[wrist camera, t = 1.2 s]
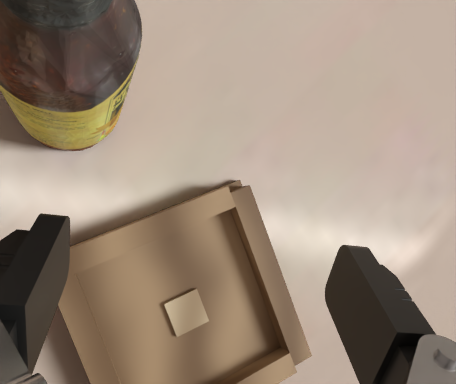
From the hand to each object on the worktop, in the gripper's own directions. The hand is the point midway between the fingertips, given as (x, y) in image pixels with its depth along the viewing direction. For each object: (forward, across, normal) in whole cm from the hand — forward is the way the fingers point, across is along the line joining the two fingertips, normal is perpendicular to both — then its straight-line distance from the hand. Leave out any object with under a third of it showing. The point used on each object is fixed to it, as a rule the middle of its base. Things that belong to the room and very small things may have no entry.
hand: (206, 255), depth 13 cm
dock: (+12, -1, +14) cm, 18 cm away
